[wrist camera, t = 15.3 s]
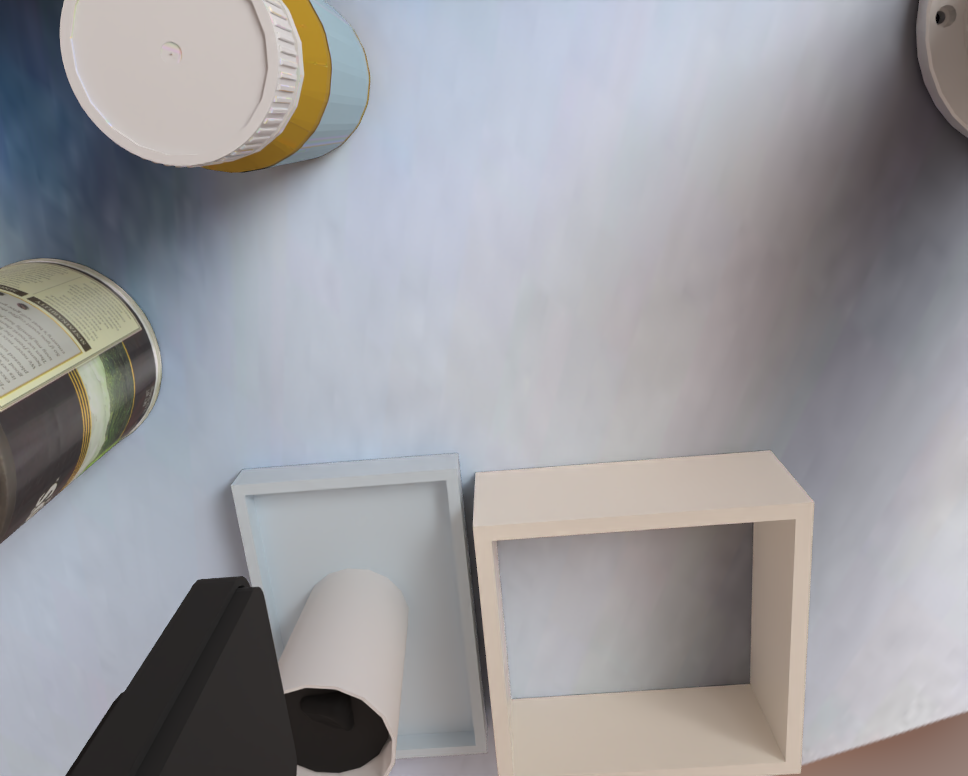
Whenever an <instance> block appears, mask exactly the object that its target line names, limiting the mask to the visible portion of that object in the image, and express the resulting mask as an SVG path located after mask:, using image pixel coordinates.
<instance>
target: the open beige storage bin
mask: <svg viewBox="0 0 968 776" xmlns="http://www.w3.org/2000/svg"><path fill="white" fill-rule="evenodd" d="M813 518H814V501H813V500H812V499H811V498H810V496H809V495H808V494H807V493H806V492H805V490H804V489H803V488H802V487H801V486H800V485H799V483H798V482H797V481H796V480H795V479H794V477H793V476H792V475H791V474H790V473H789V472H788V470H787V469H786V468H785V467H784V466H783V464H782V463H781V462H780V461H779V460H778V458H777V457H776V456H775V455H774V454H773V453H772V451H771V450H768V451H754V452H741V453H728V454H715V455H701V456H688V457H675V458H661V459H648V460H635V461H621V462H608V463H595V464H581V465H568V466H555V467H541V468H528V469H515V470H502V471H488V472H475V491H474V512H473V534H474V544H475V554H476V563H477V573H478V583H479V593H480V602H481V612H482V622H483V632H484V642H485V651H486V661H487V671H488V681H489V690H490V700H491V710H492V720H493V730H494V739H495V749H496V759H497V769H498V776H768V775H783V774H800V773H801V758H802V738H803V718H804V698H805V678H806V658H807V638H808V618H809V598H810V578H811V558H812V538H813ZM748 522H754V527H753V570H752V613H751V656H750V684H739V685H724V686H708V687H693V688H677V689H662V690H646V691H631V692H615V693H599V694H584V695H568V696H553V697H537V698H522V699H511V690H510V679H509V668H508V657H507V646H506V636H505V625H504V614H503V603H502V592H501V581H500V570H499V560H498V549H497V541H498V540H512V539H525V538H539V537H553V536H567V535H581V534H595V533H609V532H623V531H637V530H651V529H665V528H679V527H692V526H706V525H720V524H734V523H748Z"/></svg>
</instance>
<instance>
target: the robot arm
mask: <svg viewBox="0 0 968 776" xmlns="http://www.w3.org/2000/svg"><path fill="white" fill-rule="evenodd" d="M936 13H938V14H939V15H940V20H939V22H938V23H936V19H935V16H936ZM916 38H917V55H918V60H919V64H920V68H921V72H922V76H923V80H924V83H925V85H926V87H927V89H928V91H929V93H930V95H931V97H932V100H933V102H934V104H935V106H936V107H937V108H938V109H939V111H940V112H941V113H942V114H943V116H944V117H945V118H946V119H947V121H948V122H949V123H950V124H951V125H952V126H953V127H954V128H955V129H957V130H958V131H959V132H961V133H962V134H963V135H964V136H966V137H967V138H968V0H919V7H918V15H917V23H916ZM296 774H297V756H296V750H295V745H294V740H293V735H292V730H291V725H290V720H289V715H288V710H287V705H286V700H285V695H284V690H283V686H282V681H281V676H280V671H279V666H278V661H277V656H276V651H275V646H274V641H273V636H272V631H271V626H270V621H269V616H268V611H267V606H266V601H265V597H264V593H263V591H262V589H261V588H260V587H250V585H249V583H248V581H247V579H246V578H244V577H243V576H240V577H226V578H212V579H201V580H197V581H196V583H195V584H194V585H193V586H192V588H191V589H190V591H189V593H188V594H187V596H186V597H185V599H184V600H183V602H182V603H181V605H180V606H179V608H178V610H177V611H176V613H175V614H174V616H173V617H172V619H171V620H170V622H169V624H168V625H167V627H166V628H165V630H164V631H163V633H162V634H161V636H160V637H159V639H158V641H157V642H156V644H155V645H154V647H153V648H152V650H151V651H150V653H149V655H148V656H147V658H146V659H145V661H144V662H143V664H142V665H141V667H140V668H139V670H138V672H137V673H136V675H135V676H134V678H133V679H132V681H131V682H130V684H129V686H128V687H127V689H126V690H125V692H123V693H121V694H120V695H119V696H118V698H117V699H116V700H115V701H114V702H113V704H112V705H111V707H110V708H109V710H108V711H107V713H106V714H105V716H104V717H103V719H102V721H101V722H100V724H99V725H98V727H97V728H96V730H95V731H94V733H93V734H92V736H91V737H90V739H89V740H88V742H87V743H86V745H85V747H84V748H83V750H82V751H81V753H80V754H79V756H78V757H77V759H76V760H75V762H74V763H73V765H72V766H71V768H70V770H69V771H68V773H67V774H66V776H296Z"/></svg>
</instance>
